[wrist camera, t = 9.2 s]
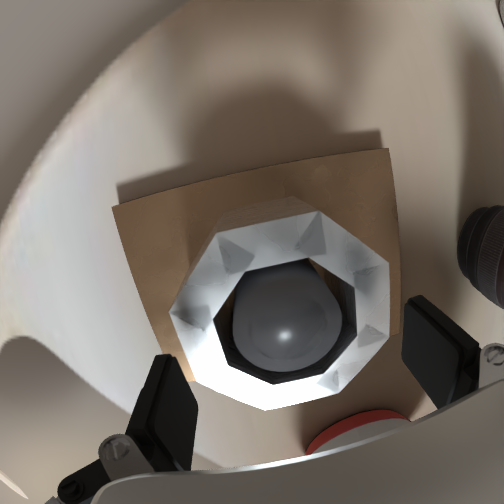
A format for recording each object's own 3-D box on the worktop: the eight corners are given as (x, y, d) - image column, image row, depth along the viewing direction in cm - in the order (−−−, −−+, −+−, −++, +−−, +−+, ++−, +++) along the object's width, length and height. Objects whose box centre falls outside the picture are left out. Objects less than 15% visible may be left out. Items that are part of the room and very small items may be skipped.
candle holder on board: (380, 148, 17) (445, 145, 11) (393, 325, 21) (436, 377, 15) (118, 204, 18) (60, 226, 11) (179, 373, 22) (163, 440, 15)
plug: (306, 234, 18) (336, 266, 12) (317, 305, 19) (344, 357, 13) (226, 251, 18) (220, 292, 12) (244, 321, 19) (246, 380, 14)
